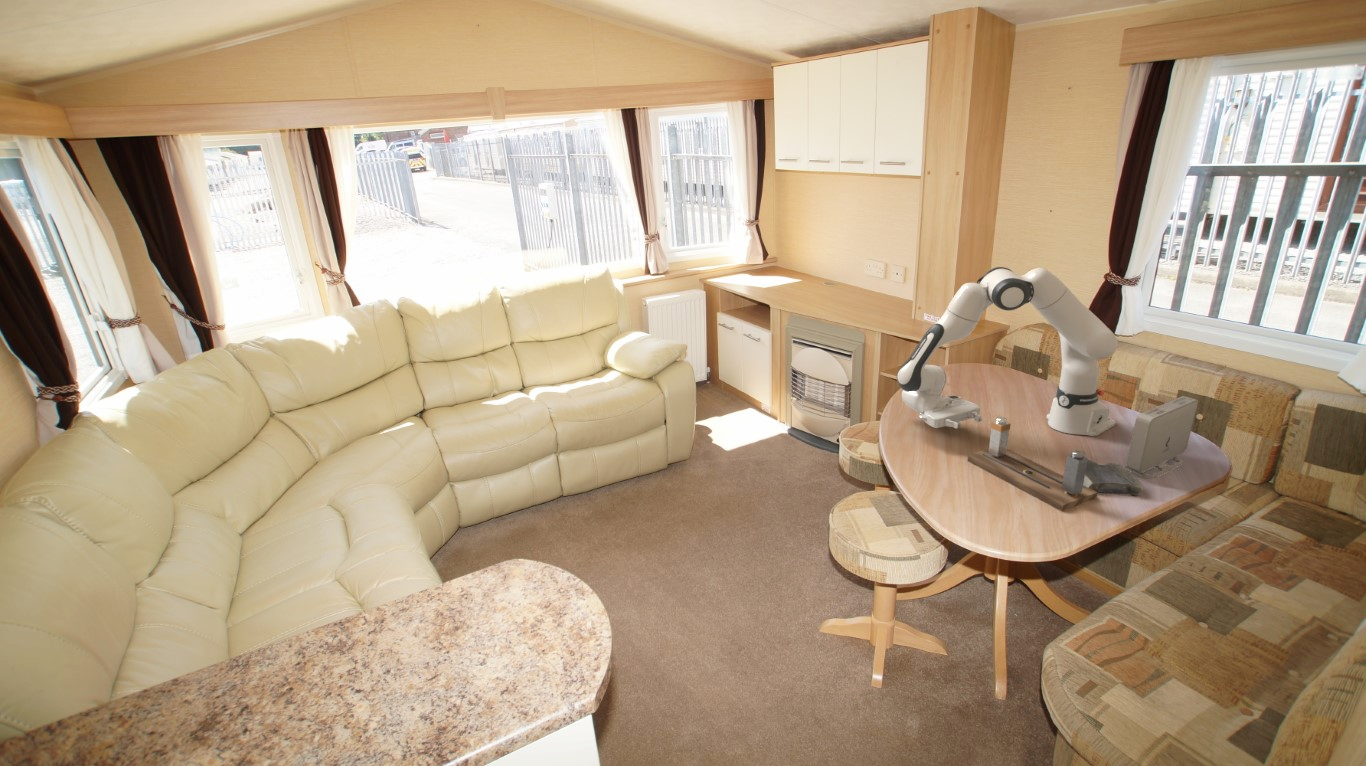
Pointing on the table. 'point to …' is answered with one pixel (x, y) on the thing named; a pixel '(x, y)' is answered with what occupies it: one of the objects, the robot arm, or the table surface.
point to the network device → (1161, 436)
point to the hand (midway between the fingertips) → (969, 422)
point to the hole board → (1031, 478)
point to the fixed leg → (1074, 472)
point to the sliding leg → (999, 436)
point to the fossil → (1111, 479)
